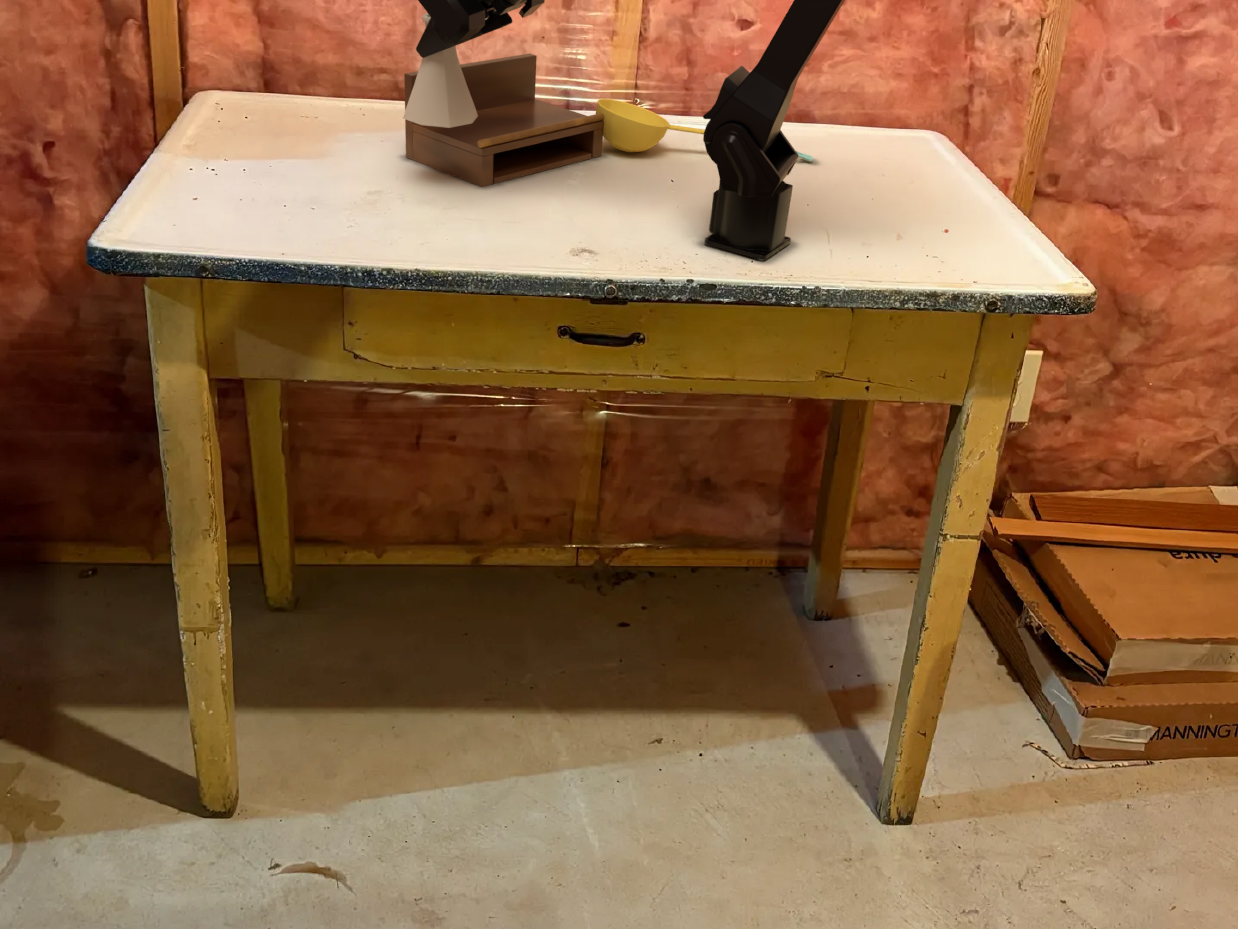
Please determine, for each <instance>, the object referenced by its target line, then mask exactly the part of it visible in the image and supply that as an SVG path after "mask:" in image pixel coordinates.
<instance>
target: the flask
mask: <svg viewBox="0 0 1238 929" xmlns="http://www.w3.org/2000/svg"><path fill="white" fill-rule="evenodd" d="M430 18H431V16H430V15H429V14H428V13H427V12H426V13H424V14H423V15H422V16H421V20H422V23H424V26H425V28H426V26H427V24H428V22H429V20H430ZM425 28H424V29H425ZM460 63H461V62H460V61H459V58H458V53H457V45H456V46H453V47H451V48H448V49H445V50H443V51H440V52H438V53H435V54H432V55H430V56H427V57H425V58H422V57H421V62H420V64H419V68H418V74H417V77H416V80H415V84H414V87H413V90H412V92H411V95H410V98H409V101H408V104H407V107H406V110H405V109H404V113H403V116H402V119H404V120H405V119H406V120H409V121H412V122H414V123H417V124H420V125H426V126H436V127H446V128H451V127H456V126H461V125H466V124H472V123H473V122H474V120H475V119H476V118H477V117H478V115H477V112H476V109H475V106H474V103H473V100H472V98H471V95H470V92H469V90H468V87H467V84H466V81H465V78H464V75H463V72H462V69H461V66H460V65H461V64H460Z"/></svg>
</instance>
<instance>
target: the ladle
mask: <svg viewBox="0 0 1238 929" xmlns="http://www.w3.org/2000/svg"><path fill="white" fill-rule="evenodd" d="M599 113H602V114H603V115H604V119H603V120H602V121H604V128H603V139H604V140H606V142H608V143H609V144H610V145H611V146H612V147H613V148H615V149H618V150H620V151H623V152H626V153H638V152H644V151H647V150H649V149H651V148H653V147H655V146H657V144H659V142H660V141H661V140H662V139H663V138H664V137H665V135H666V133H667V131H668V130H671V131H677V132H684V133H691V134H697V135H704V131H705V129H702V128H697V127H689V126H683V125H682V126H681V125H676V124H670V122H669V121H668V120H667V119H666V118H665V117H663V116H661V115H659V113H656V112H654V111H651V110H649V109H646V108H644V107H641V106H639V105H635V104H632V103H630V102H625V101H622V100H617V99H614V98H613V99H612V98H599V99H598V100H597V102H596V108H595V114H599ZM795 151H796V152H797V154H798V159H802V160H804V161H806V162H809V163H813V161H814V157H813V156H812V155H810V154H807V153H803V152H800V151H797V150H795Z"/></svg>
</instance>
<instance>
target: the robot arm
mask: <svg viewBox="0 0 1238 929" xmlns="http://www.w3.org/2000/svg"><path fill="white" fill-rule="evenodd" d="M417 1H418V2H419V4H420V5H421V6H422V8H423V9H424V10H425V12H426V13H428V14H429V15H430V16H431V18H430V20H429V22H428V24H427V26H426V28H424V30H423V33H422V34H421V37H420V38H419V41H418V42H417V44H416V47H415V50H416V52H417V54H418V56H420V57H421V59H422V58H425V57H427V56H430V55H432V54H435V53H438V52H440V51H443V50H445V49H448V48H451V47H453V46H456V47H457V46H459V45H461V44H464V43H466V42H469V41H471V40H474V39H476V38H479V37H482V36H483V35H485V34H489V33H491V32H494V31H497V30H499V29H501V28H504V27H506V26H510V25H511V24H512V23H513V18H512V16H511V15H510V14H509V12H512V11H515V10H518V9H520V10H519V12H518V14H519V16H520V17H521V18H522V19H523V18H526V17H529V16H531V15H533V14H534V13H535V12H536V11H537V10H538V9H540V7H542V5H544V4H545V3H546V2H545V0H417ZM845 1H846V0H793V1H792V3H791V5H789V6H790V7H789V8H788V10H787V12H786V13H785V15H784V17H783V19H782V20H781V22H780V23H779V25H778V27H777V29H776V31H775V32H774V33H773V34H774V35H773V36H772V38H771V40H770V41H769V43H768V45H767V46H766V49H765V50H764V52H763V54H762V55H761V57H760V59H759V61H758V62H757V64H756V65H755V66H754V67H753V69H751V71H749V70H748V69H746V67H745V66H743V65H740V66H739V67H737V68H736V69H735V70H734V71H733V72H731V73H730V74H729V75H728V76H727V77H725V78H724V80H723V83H722V85H721V87H720V90H719V93H718V95H717V98H716V101H715V102H714V104H713V105H712V107H710V108H711V109H709V110H707V112H705V113H704V114H703V116H702V118H703V120H708V122H707V124H706V125H705V129H704V130H705V131H704V134H703V138H702V141H703V143H704V147H705V150H706V151H705V152H706V153H707V155H708V156H709V158H710V160H711V161H712V162H713V163H714V164H715V165H716V168H717V172H718V177H719V184H718V189H716V190H715V191H714V192H713V194H712V203H711V210H710V219H709V227H708V231H709V233H710V234H709V235H708V236H706V237H705V238H704V244H705V245H707V246H711V247H713V248H714V247H715V248H719V249H721V250H725V251H728V252H732V253H736V254H739V255H741V256H742V255H743V256H746V257H750V258H754V259H757V260H760V261H761V260H762V261H764V260H767V259H769V258H770V257H772V256H773V255H774V254H776V253H777V252H779V251H780V250H782V249H784V248H785V247H786V246H788V245H789V244H791V240H792V238H791V237H789V236H787V235H786V231H787V227H788V226H787V225H788V218H789V213H790V206H791V201H792V194H793V189H794V185H793V184H790V183H787V182H786V181H784V180H785V179H786V177H787V176H788V175H790V173H791V172H792V170H793V168H794V167H795V164H796V163H797V161H798V159H799V157H798V154H797V152H796V151H797V150H796V149H795V148H794V146H792V144H791V142H790V140H788V138H787V137H786V136H785V134H784V133H783V132H782V130H781V129H782V127H783V124H784V121H785V118H786V116H787V113H788V111H789V108H790V105H791V103H792V99H793V96H794V93H795V89H796V86H797V82H798V81H799V78H800V76H801V75H802V73H803V71H804V70H805V68H806V66H807V65H808V63H809V61H810V60H811V58H812V56H813V55H814V53H815V51H816V50H817V48H818V46H819V44H820V43H821V41H822V40H823V38H824V36H825V34H826V33H827V31H828V29H829V28H830V26H831V25H832V23H833V21H834V19H835V18H836V16H837V15H838V13H839V11H840V10H841V9H842V6H843V4H844V3H845ZM521 7H522V8H521Z"/></svg>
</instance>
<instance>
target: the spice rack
mask: <svg viewBox="0 0 1238 929" xmlns="http://www.w3.org/2000/svg"><path fill="white" fill-rule="evenodd" d="M460 66H461V69H462V72H463V75H464V78H465V81H466V84H467V87H468V90H469V92H470V95H471V98H472V100H473V103H474V106H475V109H476V112H477V115H478V117H477V118H476V119H475V120H474V122H473V123H472V124H466V125H461V126H456V127H451V128H446V127H436V126H426V125H420V124H417V123H414V122H412V121H409V120H406V119H404V121H405V123H404V127H405V128H404V129H405V131H404V133H405V157H406V158H408V159H411V160H413V161H415V162H417V163H420V164H423V165H424V166H427V167H430V168H432V169H435V170H437V171H440V172H443V173H444V174H445V173H446V174H447V175H450V176H453V177H456V178H458V179H461V180H463V181H466V182H469V183H471V184H474V185H476V186H479V187H481V188H482V187H487V186H491V185H493V184H499V183H502V182H505V181H509V180H513V179H518V178H521V177H525V176H529V175H532V174H536V173H540V172H541V173H542V172H544V171H548V170H553V169H556V168H559V167H563V166H568V165H571V164H575V163H580V162H582V161H588V160H590V159H594V158H598V157H601V156H602V152H603V140H604V137H603V128H604V121H602V120H603V119H604V115H603V114H602V113H599V114H596V113H595V114H590V115H586V114H583V113H580V112H576V111H573V110H570V109H568V108H565V107H561V106H559V105H556V104H555V105H554V104H552V103H549V102H545V101H543V100H539V99H536V83H537V82H536V80H537V55H536V54H533V53H523V54H518V55H512V56H504V57H499V58H492V59H486V60H480V61H474V62H468V63H461V64H460ZM418 71H419V70H418ZM418 71H417V70H416V71H410V72H405V73H403V74H404V75H403V77H404V78H403V79H404V111H405V110H406V107H407V104H408V101H409V98H410V95H411V92H412V90H413V87H414V84H415V80H416V77H417V74H418Z"/></svg>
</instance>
